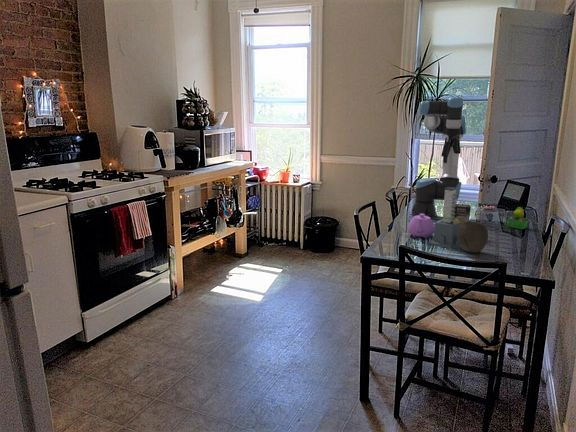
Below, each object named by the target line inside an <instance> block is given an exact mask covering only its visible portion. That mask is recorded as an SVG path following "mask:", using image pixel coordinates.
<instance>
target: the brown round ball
mask: <svg viewBox="0 0 576 432" xmlns="http://www.w3.org/2000/svg"><path fill="white" fill-rule="evenodd" d="M488 231H489V230H488V229H487V226H486V225H485V224H484V223H482V222H479V221H475V220H473V221H472V220H471V221H470V220H469V221H468V222H465V223H464V224H462V225H461V226H460V228H459V230H458V241H459V244H458V245H459V246H460V247H461V248H462V249H463V250H464V251H465V252H467V253H471V254H478V253H480V252H481V251H482V250H484V248H485V247H486V245H487V244H488V240H489V232H488Z"/></svg>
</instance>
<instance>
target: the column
mask: <svg viewBox="0 0 576 432" xmlns="http://www.w3.org/2000/svg"><path fill="white" fill-rule="evenodd" d="M455 196H457V194H456V188H454V187H447V188H445V196H444V200H443V208H442V209H443V210H442V219H443V221H442V223H446V224H453V219H455V217H454V215H455V213H454V211H456V209H454V208H455V207H456V205H455V204H457V200H456V199H457V198H456V197H455ZM455 200H456V201H455Z"/></svg>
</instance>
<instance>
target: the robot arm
mask: <svg viewBox="0 0 576 432" xmlns="http://www.w3.org/2000/svg"><path fill="white" fill-rule="evenodd" d="M463 106H464V98H463V97H449V98H448V100H423V101H421V102H420V105H419V114H420V115H423V116H424V119H423V125H424V127H425V128H426V130H427V131H430V132H431V133H434V134H436V135H437V134H440V135H442V136H443V138H444V139H445V140H444V145H443V148H442V152H441V155H440V157H442V165H441V166H442V167H441V169H442V176H440V178H439V180H437V179H436V178H435V177H426V178H419V179H418V180H417V181H416V184H415V195H414V196H415V198H414V203H413V206H412V208H411V212H410V213H411V216H413V217H414V216H417V215H420V214H425V216H428V217H430V218H431V219H432V218H436V216H437V210H436V205H435V200H438V201H444V196H445V188H447V187H454V188H456V194H457V196H455V197H456V198H457V199H456V200H455V201H456V202H457V200H458V199H459V197H460V193H461V187H462V182H461V181H460V178H459V177H458V171H459V170H458V169H459V157H460V154H461V144H460V143H461V139H462V138H463V137H464V135H466V133H467V131H466V128H467V127H466V125H467V124H466V117H465V116H464V115H463V108H464V107H463Z"/></svg>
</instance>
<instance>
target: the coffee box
mask: <svg viewBox="0 0 576 432" xmlns="http://www.w3.org/2000/svg"><path fill="white" fill-rule="evenodd" d="M455 205H456V207H455V208H454V209H456V211H454V213H455V215H454V217H455V219H458V220H459V222H460V226H461V225H462V224H464V223H465V222H468V221H470V219H471V218H470V216H471V209H472V207H471V205H470V204H461V203H460V204H459V203H456V204H455ZM455 219H453V221H454V220H455Z"/></svg>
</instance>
